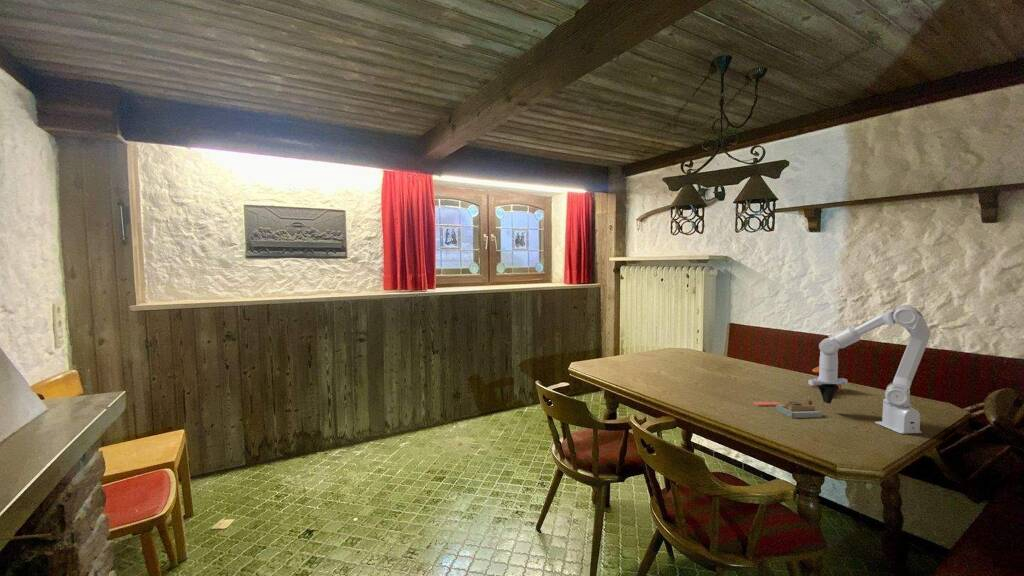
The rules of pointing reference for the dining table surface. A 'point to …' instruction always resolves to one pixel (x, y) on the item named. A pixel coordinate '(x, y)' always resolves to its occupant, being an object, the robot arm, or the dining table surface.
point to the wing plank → (767, 403)
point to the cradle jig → (798, 414)
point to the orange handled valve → (817, 377)
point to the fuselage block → (800, 406)
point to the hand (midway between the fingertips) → (827, 402)
